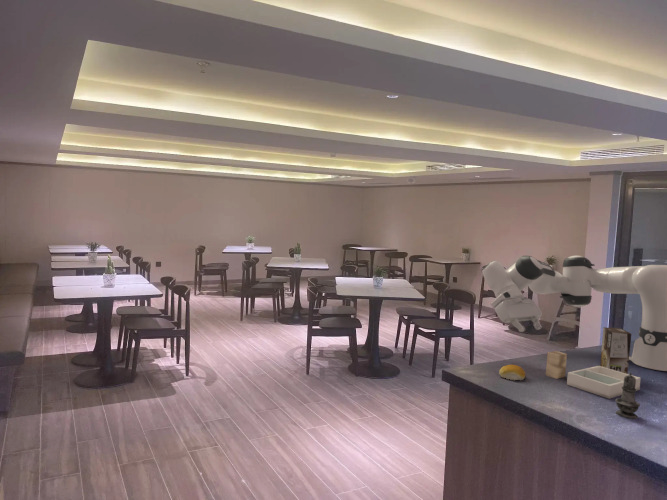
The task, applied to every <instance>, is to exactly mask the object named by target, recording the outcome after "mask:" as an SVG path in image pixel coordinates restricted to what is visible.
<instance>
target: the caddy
mask: <svg viewBox="0 0 667 500" xmlns="http://www.w3.org/2000/svg"><path fill="white" fill-rule="evenodd" d="M629 374H630V373H628V374H626V373H622V372H619V371H615V370H612V369H608V368H605V367H601V366H600V365H596V366H592V367H586V368H582V369H578V370H573V371H569V372H567V377H566V379H567V380H566V386H571V387H573V388H575V389H579V390H582V391H585V392H588V393H591V394H593V395H595V396H596V395H598V396H600V397H602V398H606V399H609V400H610V399H613V398H617V397H621V396H622V391H623V389H622V387H623V384H624V377H625V376H628V375H629ZM631 376H633V377H634V378H635V379H636V384H635V389H636V390H637V391H640V389H641V377H639V376H635V375H634V374H632V375H631Z"/></svg>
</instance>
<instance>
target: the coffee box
mask: <svg viewBox="0 0 667 500" xmlns="http://www.w3.org/2000/svg"><path fill="white" fill-rule="evenodd" d="M632 334H633V333H631V332H629V331H627V330H626V329H623V328H619V327H606V326H605V327H604V326H603V328H602V339H601V351H600V363H599V366H601V367H605V368H608V369H612V370H615V371H619V372H622V373H626V374H629V373H628V372H629V364H630V363H629V361H630V360H629V356H630V353H631V352H630V351H631V342H632Z"/></svg>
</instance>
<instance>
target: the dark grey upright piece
mask: <svg viewBox="0 0 667 500" xmlns="http://www.w3.org/2000/svg"><path fill="white" fill-rule="evenodd" d="M628 374H629V375H628V376H625V377H624V384H623V387H622V389H623V391H622V395H620V398H619V397H618V398H616V399H615V403H616V406H617V408H618V410H616V411H615V414H616V415H617V416H619V417H622V418H626V419H630V420H631V419H634V420H635V419H638V415H637V414H636V412H637V411H638V410H639V407H640V406H641V404H640V403H639V402H637V401H636V392H637V391H638V390H636V389H635V384H636V379H635V378H634V377H633V376H634V375H633V374H632V372H629V373H628ZM631 375H633V376H631Z"/></svg>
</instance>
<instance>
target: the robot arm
mask: <svg viewBox="0 0 667 500" xmlns="http://www.w3.org/2000/svg"><path fill="white" fill-rule="evenodd" d="M594 266H596V265H595V263H592V262H591V260H590V259H588V258H587V257H585V256H582V255H571V256H568V257H565V258H564V259H563V262H562V273H560V272H559V271H557V270H554V268H553V267H552V266H551V265H550V264H549V263H546V262H544V261H542V260H538V259H537V258H535V257H533V256H532V255H522V256H521V257H519V258H518V260H516V261H515V263H513V264H512V265H511V266H510V267H509V268H507V269H506V268H505V267H504V265H503V264H502V263H501V262H500V261H499V260H493V261H490V262H489V263H488V264H487V265H485V266H484V267H483V268H482V271H481V272H482V276H483V279H484V281H485V282H486V284H487V286H488V287H489V289H490V290H491V291H492V292H493V293H494V296H495V299H494V300H493V301H491V303H490V305H491V307H492V308H493V309H494V311H495V313H496V316H498V318H499V320H500V321H501V322H502V323H504V324H506V323H507V324H510V323H511V324H512V326H513V327H515V329H517V330H518V332H519V333H522V332H525V331H526V327H525V326H524V324H523V325H522V324H521V323H520V322H525V321H526V322H527V321H531V322H532V323H533V324H534V326H533V327H534V329H535V330H542V327H543V326H542V325H541V323H540V318H541V317H542V316H543V311H542V310H541V308H540V307H539V306H538V304H537V303H536V302H535V301H534V300H532V299H531V298H528V297H527V296H524V294H523V293H522V291H523V290H525V289H526V288H527V287H528V289H530V291H531V292H533V293H535V294H537V295H551V294H558V293H559V294H560V295H559V298H561V299H562V300H563V301H564V302H565V304H567V305H569V306H570V305H571V306H572V307H576V308H578V307H579V308H581V307H585V306H586V305H590V303H592V298H593V296H592V289H593V290H594V291H596V292H600V293H604V294H616V295H617V294H618V295H620V294H621V295H623V294H624V295H627V294H628V295H635V294H636V295H639V297H640V301H641V307H642V312H641V313H642V315H641V325H640V327H639V330H638V336H639V337H637V339H635V340H634V343H633V349H632V354H631V355H629V361H631V362H632V363H633V364H635V365H637V366H639V367H643V368H646V369H649V370H656V371H662V372H667V264H648V265H637V266H635V265H633V266H613V267H612V266H611V267H606V268H599V269H595V268H593V267H594Z"/></svg>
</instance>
